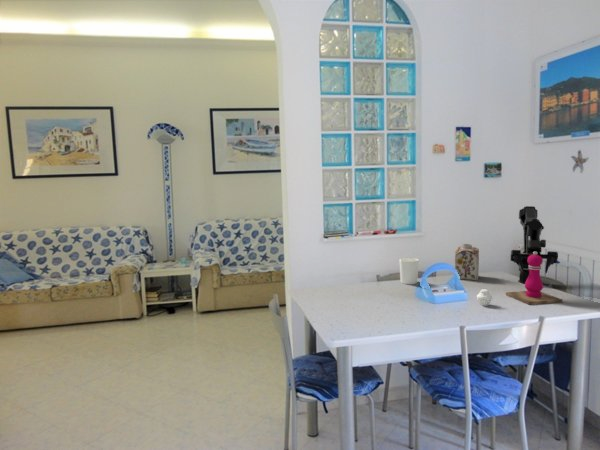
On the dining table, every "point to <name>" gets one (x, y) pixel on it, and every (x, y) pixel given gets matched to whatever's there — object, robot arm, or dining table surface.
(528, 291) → the pepper mill
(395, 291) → the dining table surface
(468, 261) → the decorative jar
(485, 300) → the white rounded lump
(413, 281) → the candle holder
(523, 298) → the walnut board
